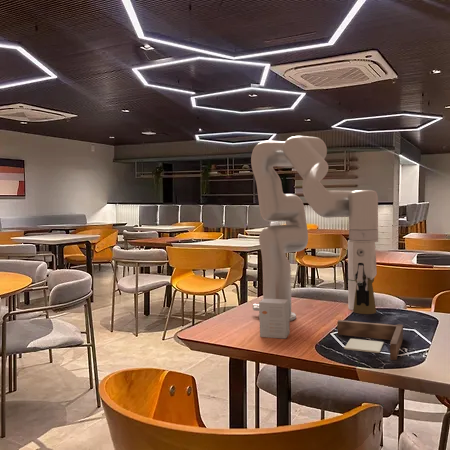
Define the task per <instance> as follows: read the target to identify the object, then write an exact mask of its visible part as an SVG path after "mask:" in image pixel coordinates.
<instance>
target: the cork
mask: <svg viewBox="0 0 450 450" xmlns="http://www.w3.org/2000/svg"><path fill="white" fill-rule="evenodd" d="M355 276H357V274H356V275H355ZM356 278H357V277H356ZM354 279H355V278H354ZM363 279H366V277H363ZM355 282H356V290H357V279H355ZM363 282H365V281H363ZM374 282H375V277H374V278H373V279H372V280H370V278H368V291H369V306H366V305H365V304H364V303H361V305H360V306H359V305H357V299H356V291H355V299H354V308H353V310H352V312H353V313H355V314H360V315H371V314H372V315H373V314H376V313H377V307H376V301H375V293H374V286H373V283H374Z"/></svg>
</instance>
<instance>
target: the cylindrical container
mask: <svg viewBox="0 0 450 450" xmlns="http://www.w3.org/2000/svg"><path fill="white" fill-rule="evenodd" d="M347 283H348V284H347V287H348V288H347V291H348V292H347V296H348V299H347V301H348V310H350V311H353V308H354V299H355V291H356V282H355V279H354V276H353V242H349V239H348V240H347Z"/></svg>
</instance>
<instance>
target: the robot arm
mask: <svg viewBox="0 0 450 450" xmlns="http://www.w3.org/2000/svg"><path fill="white" fill-rule="evenodd" d="M327 153H328V148H327V145H326V143H325V142H324V140H323V139H321V138H320V137H316V136H307V135H295V136H290V137H288V138H287V139H286V140H285V141H281V140H264V141H261V142H258V143H257V144H255V146H254V147H253V149H252V153H251V159H250V162H251V164H250V165H251V169H252V174H253V176H254V179H255V184H256V189H257V198H258V206H259V212H260V216H261V218H262V219H263V220H264V221H265V222H270V223H273V222H285V224H278V225H269V226H266V227H264V228H263V229H262V230H261V232H259V236H258V242H259V248H260V252H261V261H262V262H261V263H262V294H263V296H262V300H263V299H288V300H289V322H291V321H294V320H295V319H297V313H295V312H292V271H291V269H292V268H291V263H290V260H289V259H288V257H287V255H286V253H287V254H288V253H296V252H301V251H303V250H305V248H307V246H308V243H309V232H308V223H307V217H306V211H305V210H306V209H305V205H304V202H303V200H302V199H301V198H300V197H299V196H298V195H296V194H294V193H284V191H283V185H282V183H283V182H282V180H281V178H280V176H279V174H278V173H277V171H276V170H275V169H274V167H284V168H285V167H286V168H294V169H295V171H296V172H297V173H298V174H299V176H300V177H301V179H302V192H303V197H304V200H305V201H306V202H307V204H308V205H309V207H310V208H311V209H312V210H313V211H314V212H315V213H316V214H317V215H318V216H320V217H322V218H329V219H330V218H348V235H349V236H348V240H349V242H353V276H354V278H355V279H357V290H356V299H357V305H359V306H360V305H361V303H364V304H365V305H366V306H369V291H368V278H370V280H372V279H373V278H374V279H375V277H376V276H377V270H378V269H377V251H376V243H378V242H379V196H378V192H377V191H376V190H372V189H359V190H358V189H356V190H338V189H337V190H334V189H332V190H330V189H329V190H328V189H327V188H326V187H325V186H324V185H323V184H322V183H321V181H322V180H323V179H324V178H325V177H326V176H327V174H328V172H329V164H328V162H327V161H326V160H325V159H326V157H327ZM356 274H357V276H355V275H356ZM356 277H357V278H356ZM363 277H366V279H363ZM363 281H365V282H363ZM252 310H253V311H257V312H259V303H258V304H257V303H253V304H252Z"/></svg>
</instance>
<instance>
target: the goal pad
mask: <svg viewBox="0 0 450 450" xmlns="http://www.w3.org/2000/svg"><path fill="white" fill-rule="evenodd" d="M384 344H385V343H384V341H377V340H371V339H370V340H369V339H368V340H367V339H360V338H351V337H350V338H349V340H348V342H347V343H346V345H345V346H344V347H343V348H344V349H343V350H348V351H355V352H356V351H357V352H367V353H375V354H380V353H381V351H382V349H383V346H384Z"/></svg>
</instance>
